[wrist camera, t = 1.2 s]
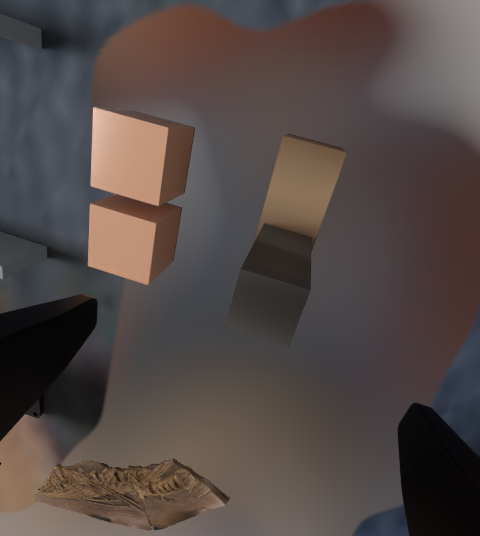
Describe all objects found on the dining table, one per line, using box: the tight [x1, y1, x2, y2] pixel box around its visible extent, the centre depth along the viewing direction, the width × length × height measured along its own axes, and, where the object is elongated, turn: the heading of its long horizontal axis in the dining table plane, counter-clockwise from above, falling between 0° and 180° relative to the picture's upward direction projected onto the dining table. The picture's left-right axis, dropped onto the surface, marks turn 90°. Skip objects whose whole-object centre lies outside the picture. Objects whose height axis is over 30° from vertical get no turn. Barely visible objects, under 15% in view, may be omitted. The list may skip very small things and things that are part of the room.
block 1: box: [91, 107, 195, 206], centre depth 19 cm, size 4×4×4 cm
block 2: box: [88, 194, 182, 285], centre depth 21 cm, size 4×4×4 cm
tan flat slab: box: [34, 459, 230, 530], centre depth 36 cm, size 26×11×1 cm, turn 106°
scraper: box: [226, 134, 347, 346], centre depth 16 cm, size 11×3×10 cm, turn 167°
